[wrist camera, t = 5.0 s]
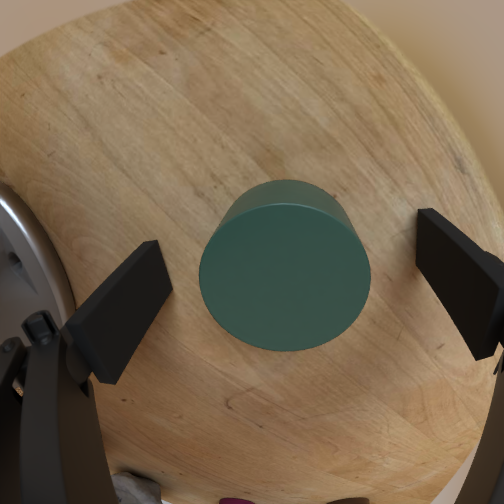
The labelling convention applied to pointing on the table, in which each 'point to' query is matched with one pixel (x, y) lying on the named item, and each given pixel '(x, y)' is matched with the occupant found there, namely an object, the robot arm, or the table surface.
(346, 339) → the table surface
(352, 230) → the green cylinder
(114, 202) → the table surface
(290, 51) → the table surface
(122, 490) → the fossil
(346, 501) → the brown jar
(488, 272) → the robot arm
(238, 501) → the cup
